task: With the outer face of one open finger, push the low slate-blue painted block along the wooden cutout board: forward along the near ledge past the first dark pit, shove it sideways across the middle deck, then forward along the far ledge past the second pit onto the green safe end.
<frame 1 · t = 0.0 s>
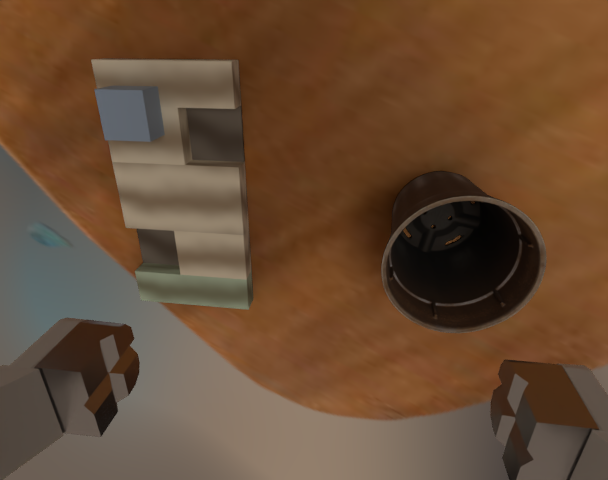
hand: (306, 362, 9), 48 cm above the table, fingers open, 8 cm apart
wooden cutout board: (187, 192, 61), on the table
slate block: (139, 110, 53), point 3 cm above the table, touching wooden cutout board
plant pot: (437, 211, 57), on the table
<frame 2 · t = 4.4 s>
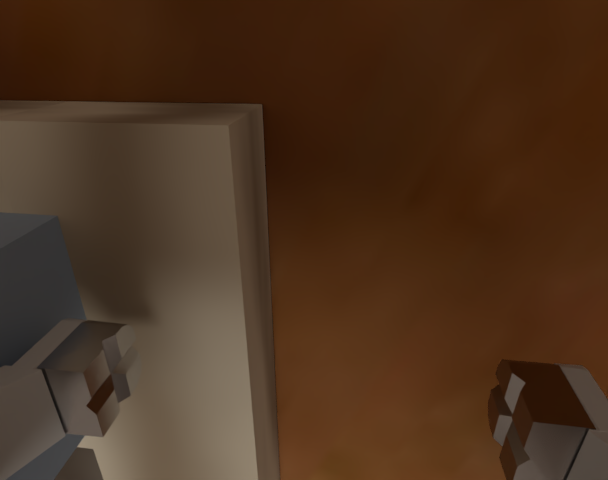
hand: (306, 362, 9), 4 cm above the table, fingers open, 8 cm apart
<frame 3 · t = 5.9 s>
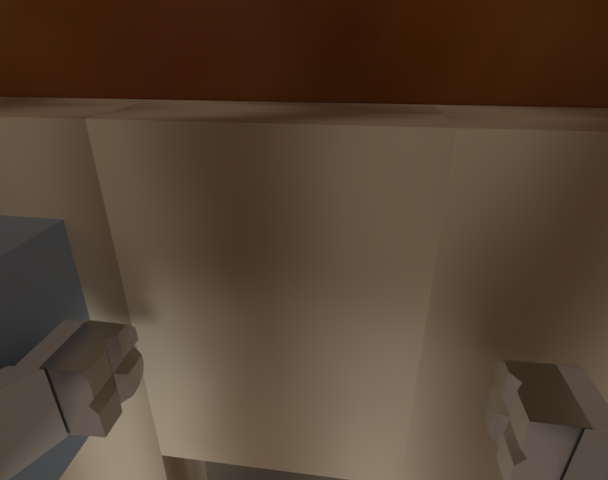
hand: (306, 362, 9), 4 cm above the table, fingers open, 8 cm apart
wooden cutout board: (66, 342, 16), on the table
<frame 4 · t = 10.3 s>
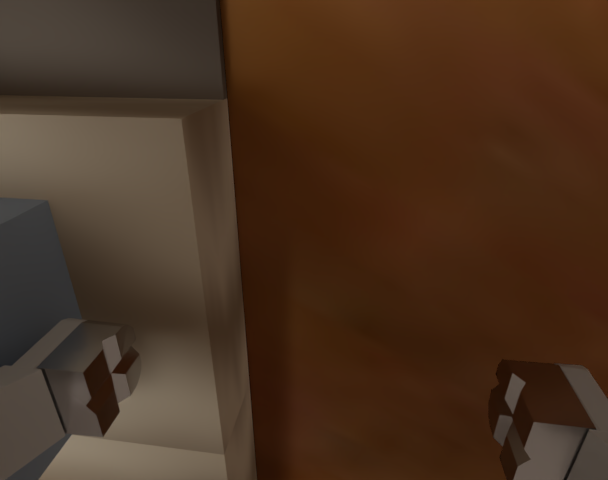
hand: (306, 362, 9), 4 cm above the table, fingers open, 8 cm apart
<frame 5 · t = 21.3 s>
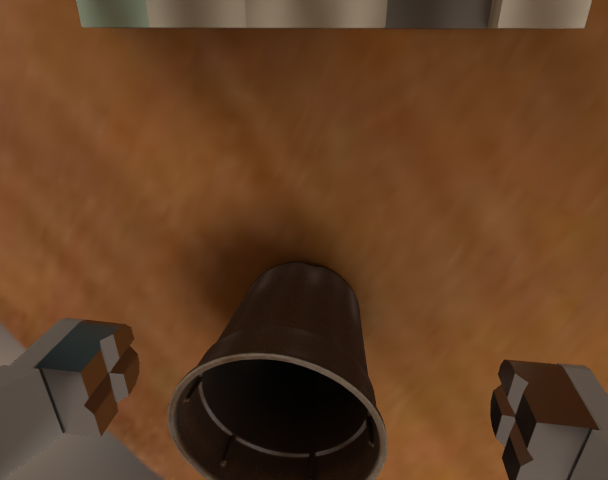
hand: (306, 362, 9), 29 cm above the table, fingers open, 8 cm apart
plant pot: (304, 309, 45), on the table
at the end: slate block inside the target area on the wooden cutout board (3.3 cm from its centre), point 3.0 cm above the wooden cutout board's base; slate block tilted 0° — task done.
